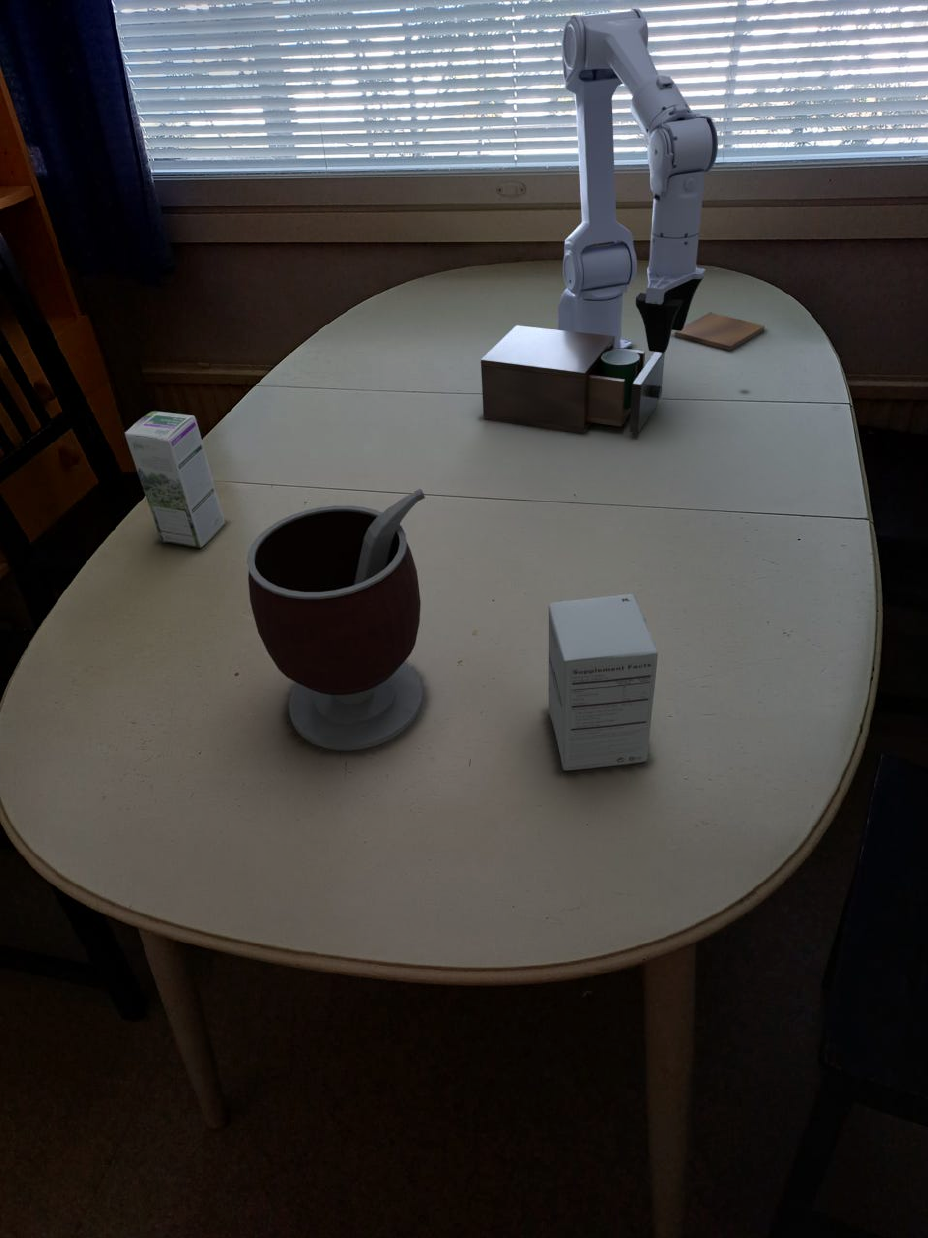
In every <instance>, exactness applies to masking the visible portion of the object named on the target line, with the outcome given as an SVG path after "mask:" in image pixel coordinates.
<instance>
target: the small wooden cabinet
mask: <svg viewBox="0 0 928 1238" xmlns="http://www.w3.org/2000/svg"><path fill="white" fill-rule="evenodd" d="M614 345H615V336H608V335H599V334H590V333H581V332H572V331H563V330H558V329H553V328H545V327H534V326H526V325H518V324H517V325H515V326H514V327H513V328H512V329H511V330H510V331H509V332H507V334H506V335H504V337H503V338H502V339H501V340H499V341H498V343H497V344H495V346H493V347H492V348H491V349H490V350H489V351H488V352H487V353H486V354H485V355H484V356H483V357H482V358H481V359H480V372H481V374H480V375H481V391H482V392H481V393H482V411H483V419H484V420H489V421H490V420H491V421H498V422H504V423H509V424H510V423H511V424H517V425H521V426H522V425H523V426H530V427H535V428H541V429H542V428H543V429H548V430H554V431H563V432H569V433H575V434H582V435H584V434H585V433H586V431H587V430H588V429H589V427H590V426H591V425H592V423H593V422H587V421H586V389H587V375H588V374H589V373H590V372H591V370H592V369H593V368H594V367H595V365H596V364H597V363H598V362H599V360H600V359H601V356H602V355H603V354H604V353H605V352H607V350H608V349H609V348H610V347H611V348H614Z"/></svg>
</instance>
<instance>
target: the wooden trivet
mask: <svg viewBox="0 0 928 1238" xmlns="http://www.w3.org/2000/svg"><path fill="white" fill-rule="evenodd" d="M764 331H765V325H762V324H759V323H754V322H750V321H746V320H743V319H738V318H734V317H729V316H725V315H722V314H717V313H713V312H708V313H707V314H705V315H702V316H701V317H699V318H697V319H696V320H694V321H692V322H689V323H688V324H685V325H684V327H683V329H682V331H678V330H675V332H674V337H675V338H679V339H684V340H687V341H690V342H694V343H699V344H703V345H706V346H709V347H713V348H717V349H720V350H724V351H729V352H731V351H733V350H734V349H736V348H738V347H740V346H741V345H743V344H744V343H746V342H748V341H749V340H751V339H753V338H754V337H756V336H757V335H759V334H760V333H762V332H764Z"/></svg>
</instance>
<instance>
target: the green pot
mask: <svg viewBox="0 0 928 1238" xmlns="http://www.w3.org/2000/svg"><path fill="white" fill-rule="evenodd" d="M630 350H631V349H629V350H611V351H608V352H605V353H604V354H603V355H602V356H601V362H602V364H603V377H611V378H619V379H625V393H624V409H628V408H631V395H632V384H633V382H634V381H635V379H636V372H637V364H638V363H639V361H640V356H639V355H638V354H637V353H636V352H634V351H630Z"/></svg>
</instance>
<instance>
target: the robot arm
mask: <svg viewBox="0 0 928 1238" xmlns="http://www.w3.org/2000/svg"><path fill="white" fill-rule="evenodd" d="M648 44H649V27H648V21H647V19H646V16H645V15H644V12H643V11H642V10H641V9H640V8H639V7H638V8H637V7H635V8H631V9H628V10H619V11H611V12H610V11H609V12H600V13H592V14H590V13H589V14H582V15H579V14H572V15H570V16H569V18H568V20H567V21H566V23H565V25H564V29H563V33H562V37H561V58H562V59H561V60H562V62H561V63H562V75H563V76H562V77H563V80H564V89H565V90H568V91H569V92H571V93H573V94H574V101H575V111H576V112H575V113H576V114H575V115H576V131H577V132H576V133H577V151H578V168H579V170H578V171H579V188H580V189H579V190H580V209H581V223H580V224H579V225H578V226H577V227H576V229H574V230H573V232H571V234H569V235H568V237H567V238H565V240H564V245H563V249H564V250H563V251H564V253H563V260H562V276H563V281H564V284H565V287H566V289H565V290H564V291H563V292H562V294H561V296H560V299H559V302H558V308H557V319H558V320H557V330H563V331H572V332H581V333H590V334H599V335H608V336H615V345H614V348H620V349H628V348H630V347H632V346H633V343H632V342H631V341H628V340H625V339H621V337H622V319H623V318H622V317H623V297H624V293H628V286H630V285H632V284H633V282H634V280H635V278H636V276H637V271H638V259H637V254H636V250H635V246H634V237H633V233H632V232H631V231H630V230H629V229H628V228H626V227H625V226H624V225H623V224H621V223H619V222H618V221H617V208H616V207H617V206H616V205H617V204H616V178H615V175H616V173H615V149H614V121H613V120H614V119H613V95H614V94H615V92H616V90H617V88H618V87H620V86H622V85H624V87H625V88H626V90H627V92H629V94H630V95H631V97H632V98H631V100H630V114H631V116H632V117H633V120H634V121H635V123H636V125H637V126H638V128H639V130H640V132H641V134H642V135H643V137H644V139H645V141H646V143H647V144H648V145H647V147H646V148H647V149H646V151H647V152H646V153H647V163H648V168H649V186H650V191H651V192H653V200H652V201H653V202H652V215H651V229H650V243H649V244H650V245H649V258H648V259H649V261H648V262H649V263H648V267H647V268H646V277H647V286H646V289H645V292H640V293H638V295H636V296H635V307H636V309H637V310H638V312H639V315H640V317H641V319H642V322H643V326H644V331H645V337H646V338H645V339H646V344H647V348H648V351H649V352H652V353H654V352H659V353H665V354H666V351H667V349H668V347H669V343H670V338H671V334H672V331H677V330H678V331H682V329H683V327H685V326H686V322H687V318H688V315H689V311H690V308H691V305H692V302H693V299H694V296H695V293H697V292H696V291H697V290H698V288H699V285H700V284H701V282H702V281H703V279H704V277H705V275H706V269H705V268H703V267H698V266H697V261H698V260H697V259H698V248H699V240H700V230H701V219H702V208H703V197H704V191H705V190H704V189H705V188H704V187H705V179H706V173H707V172H709V171H711V170H712V168H714V166H715V163H716V160H717V157H718V150H719V137H718V136H719V135H718V131H717V127H716V125H715V123H714V120H713V118H712V117H711V116H710V115H707V114H704V115H701V113H694V112H693V111H692V109H691V108H690V106H689V104H688V103H687V100H686V99H685V98H684V96H683V94H682V93H681V91H680V90H679V88H678V86H677V84H676V83H675V81H674V80H673V79H672V77H670V75H668V76H667V75H660V74H659V73H658V71H657V67H656V66H655V64H654V61H653V60H652V57H651V55H650V53H649V50H648ZM605 243H608V244H605ZM599 244H601V245H599ZM593 245H595V246H593Z"/></svg>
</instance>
